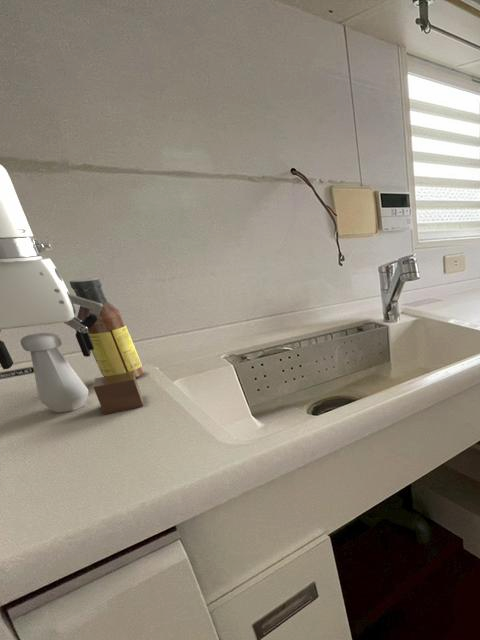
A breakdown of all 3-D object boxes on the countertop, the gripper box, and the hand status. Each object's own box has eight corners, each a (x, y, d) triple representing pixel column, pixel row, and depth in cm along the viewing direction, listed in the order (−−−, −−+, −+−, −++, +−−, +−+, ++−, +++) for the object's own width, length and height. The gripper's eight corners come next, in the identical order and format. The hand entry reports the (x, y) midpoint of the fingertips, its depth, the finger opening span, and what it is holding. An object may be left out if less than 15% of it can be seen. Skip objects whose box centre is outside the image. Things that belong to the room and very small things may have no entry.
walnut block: (105, 404, 70) (94, 378, 68) (142, 397, 73) (133, 371, 71) (104, 414, 67) (93, 387, 65) (143, 406, 70) (133, 379, 68)
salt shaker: (92, 397, 73) (64, 327, 68) (93, 407, 69) (64, 334, 64) (46, 407, 69) (12, 334, 64) (44, 418, 65) (8, 341, 61)
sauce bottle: (139, 370, 86) (106, 275, 78) (149, 376, 82) (115, 278, 75) (98, 379, 81) (59, 279, 73) (107, 386, 77) (66, 282, 70)
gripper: (84, 246, 68) (120, 345, 74) (-86, 252, 57) (-27, 366, 63) (81, 249, 62) (120, 355, 69) (-107, 256, 52) (-40, 380, 58)
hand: (49, 360), depth 66 cm, fingers open, 8 cm apart
